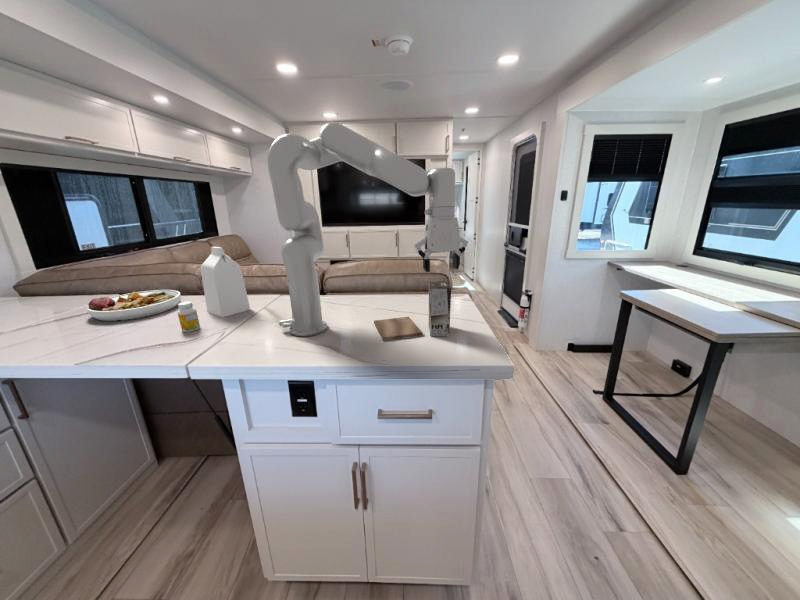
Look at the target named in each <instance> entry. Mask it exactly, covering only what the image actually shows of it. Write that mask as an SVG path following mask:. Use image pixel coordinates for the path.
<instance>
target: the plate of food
mask: <svg viewBox="0 0 800 600" xmlns="http://www.w3.org/2000/svg"><path fill="white" fill-rule="evenodd" d="M181 299H182V296H181V292H180V291H178V290H174V289H153V290H144V291H132V292H131V293H124V294H119V295H115V296H112V297H108V296H101V297H99V298H92V299H91V300H90V301H89V303H87V305H88V306H86V310H87V313H88V315H89V316H91V317H92V318H94V319H95V320H100V321H106V322H117V320H121V321H128V319H130V320H134V318H137V319H140V317H142V318H146V317H145V316H147V317H149V316H150V315H151V316H154V314H155V315H158V314H161V312H162V313H164V312H167V311H169V310H171V309H173V308H175V307H176V306H178V304H179V303H181V302H180V301H182V300H181ZM157 313H158V314H157ZM151 316H150V317H151Z"/></svg>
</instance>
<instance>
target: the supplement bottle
mask: <svg viewBox="0 0 800 600" xmlns="http://www.w3.org/2000/svg"><path fill="white" fill-rule="evenodd" d="M193 306H194V305H193V302H192V301H190V300H189V301H183V302H179V303H178V304H177V307H178V310H177V316H178V321H179V324H180V328H181V331H182V332H184V333H190V332H195V331H197V330H199V329H200V328H201V325H200V320H199V315H198V312H197V308H196V307H193ZM194 330H195V331H194Z"/></svg>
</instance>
